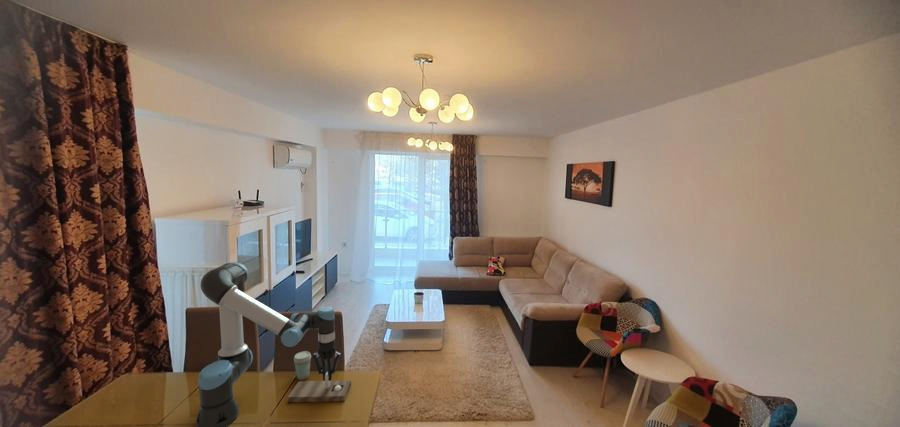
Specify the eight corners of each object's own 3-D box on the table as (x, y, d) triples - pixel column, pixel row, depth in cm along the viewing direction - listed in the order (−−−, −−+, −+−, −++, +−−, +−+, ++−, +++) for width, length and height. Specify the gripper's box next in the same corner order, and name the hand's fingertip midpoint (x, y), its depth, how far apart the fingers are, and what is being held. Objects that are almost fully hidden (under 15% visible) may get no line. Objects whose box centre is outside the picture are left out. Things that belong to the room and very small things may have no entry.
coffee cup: (305, 382, 166) (304, 360, 165) (290, 380, 168) (289, 358, 167) (315, 373, 175) (314, 351, 173) (301, 370, 176) (300, 349, 175)
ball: (332, 388, 156) (340, 388, 156) (335, 383, 160) (342, 383, 160) (332, 395, 157) (340, 395, 157) (335, 390, 160) (342, 390, 160)
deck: (288, 402, 152) (287, 397, 151) (298, 386, 163) (298, 381, 163) (344, 401, 153) (344, 396, 152) (351, 385, 165) (351, 380, 164)
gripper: (309, 343, 152) (311, 391, 154) (338, 343, 152) (339, 391, 154) (315, 336, 159) (316, 381, 161) (342, 336, 160) (343, 381, 162)
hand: (327, 386), depth 158 cm, fingers closed
